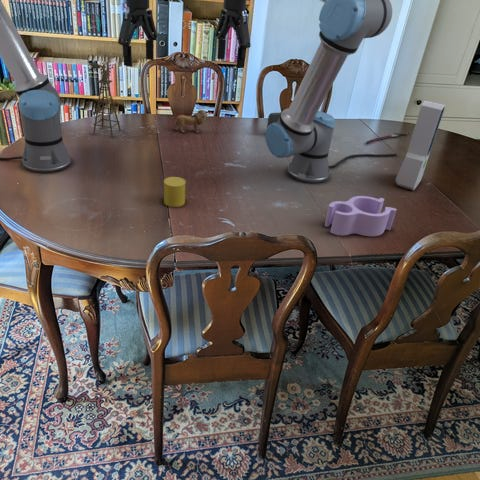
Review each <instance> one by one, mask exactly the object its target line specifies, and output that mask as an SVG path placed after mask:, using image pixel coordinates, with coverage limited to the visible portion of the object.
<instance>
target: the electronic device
mask: <svg viewBox="0 0 480 480" xmlns="http://www.w3.org/2000/svg"><path fill="white" fill-rule="evenodd" d="M446 106H447V105H446V104H443V103H439V102H434V101H429V100H424V101H423V102H422V103H421V105H420V109H419V112H418V115H417V119H416V122H415V124H414V129H413V132H412V134H411V139H410V141H409V145H408V147H407V150H406V155H405V157H404V159H403V161H402V164H401V166H400V168H399V170H398V172H397V175H396V177H395V184H396V186H397V187H400V188H403V189H407V190H411V191H415V189H416V188H417V187H418V185H419V184H420V182H421V181H422V179H423V175H424V173H425V169H426V168H427V167H426V166H427V163H428V160H429V157H430V155H431V151H432V148H433V145H434V142H435V139H436V136H437V133H438V130H439V127H440V125H441V121H442V118H443V116H444V112H445V109H446Z"/></svg>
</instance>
